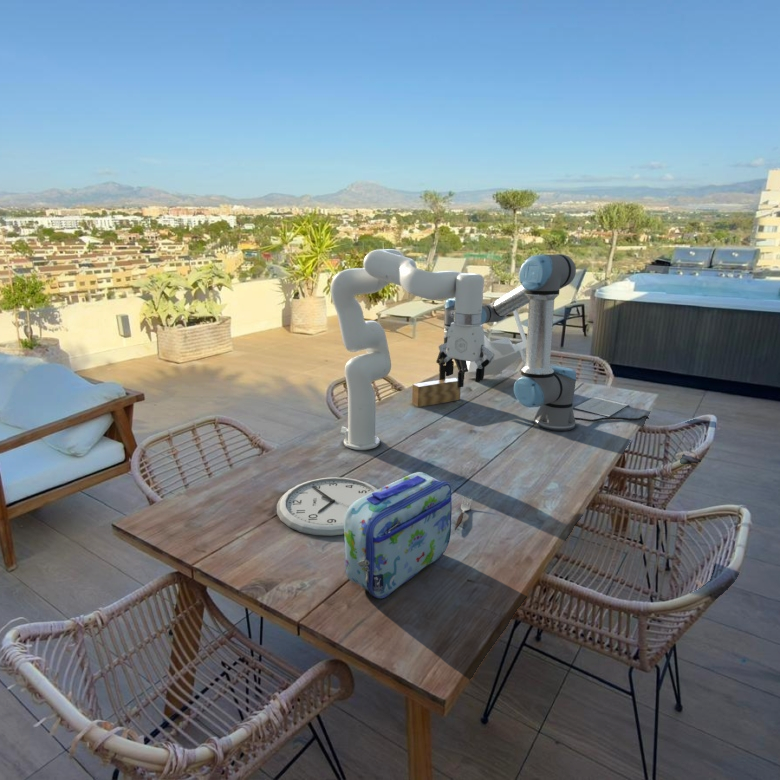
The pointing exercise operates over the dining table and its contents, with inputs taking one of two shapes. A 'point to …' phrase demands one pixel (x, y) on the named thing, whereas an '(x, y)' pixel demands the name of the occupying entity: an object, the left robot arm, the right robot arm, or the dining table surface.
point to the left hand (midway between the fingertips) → (463, 378)
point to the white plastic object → (501, 353)
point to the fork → (464, 508)
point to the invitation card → (601, 406)
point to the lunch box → (397, 532)
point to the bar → (435, 392)
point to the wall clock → (321, 504)
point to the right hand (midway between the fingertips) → (451, 383)
